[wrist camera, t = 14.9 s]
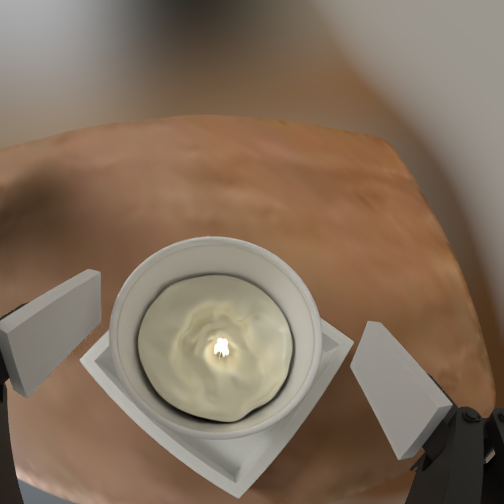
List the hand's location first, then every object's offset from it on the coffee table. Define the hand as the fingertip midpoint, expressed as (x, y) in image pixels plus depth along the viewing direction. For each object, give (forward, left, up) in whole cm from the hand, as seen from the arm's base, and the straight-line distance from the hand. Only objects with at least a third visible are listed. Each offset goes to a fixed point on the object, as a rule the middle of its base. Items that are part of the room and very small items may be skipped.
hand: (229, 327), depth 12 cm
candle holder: (0, -1, -12) cm, 12 cm away
